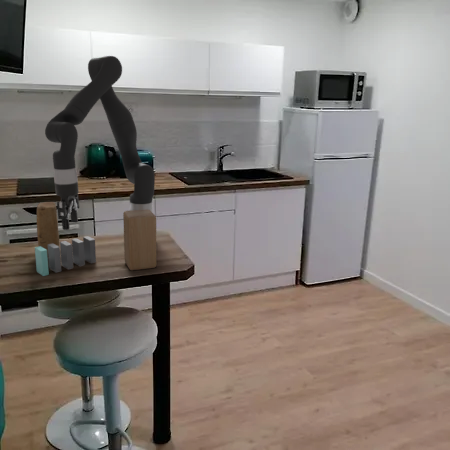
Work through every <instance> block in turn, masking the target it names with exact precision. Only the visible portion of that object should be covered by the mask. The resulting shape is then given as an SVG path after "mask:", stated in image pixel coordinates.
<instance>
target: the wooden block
mask: <svg viewBox="0 0 450 450" xmlns="http://www.w3.org/2000/svg"><path fill="white" fill-rule="evenodd" d="M122 217H123V248H124V249H123V250H124V251H123V253H124V256H123V257H124V262H125V264H126V266H127V267H128V269H129V271H138V270H145V269H153V268H156V267H157V216H156V215H155V214H154V213H153V211H152V212H151V211H150V210H148V209H146V210H131V211H130V210H125V211H124V212H123V215H122Z"/></svg>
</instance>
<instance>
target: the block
mask: <svg viewBox="0 0 450 450" xmlns="http://www.w3.org/2000/svg"><path fill="white" fill-rule="evenodd" d="M58 220H59V219H58V209H57V203H55V202H54V201H44V202H39V203H38V204H37V207H36V232H37V244H38V245H37V247H39V246H41V247H43V248H44V249H46V250H47V258H48V259H49V257H48V244H55V245H57V246H59V247H60V235H59V234H60V233H59V232H60V231H59V221H58Z"/></svg>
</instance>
